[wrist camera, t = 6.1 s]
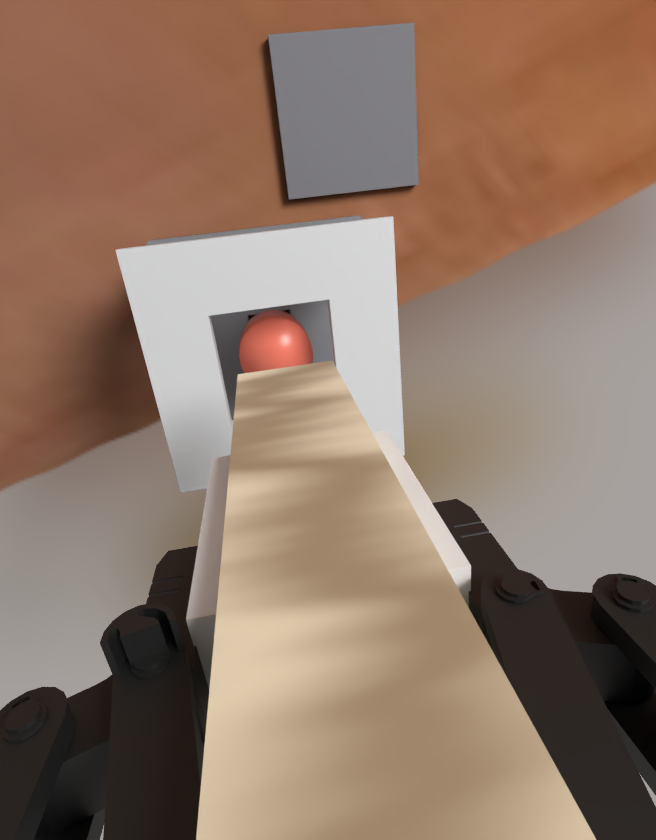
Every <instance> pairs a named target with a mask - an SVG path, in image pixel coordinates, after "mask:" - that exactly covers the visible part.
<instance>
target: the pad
mask: <svg viewBox="0 0 656 840" xmlns="http://www.w3.org/2000/svg"><path fill="white" fill-rule="evenodd" d="M268 43H269V51H270V59H271V67H272V75H273V82H274V90H275V98H276V106H277V114H278V122H279V130H280V137H281V145H282V153H283V161H284V169H285V177H286V185H287V193H288V200H290V199H299V198H307V197H316V196H325V195H334V194H342V193H351V192H360V191H368V190H377V189H386V188H394V187H403V186H412V185H419V181H418V146H417V110H416V75H415V39H414V23H405V24H393V25H381V26H368V27H356V28H344V29H332V30H320V31H308V32H296V33H284V34H272V35H268Z"/></svg>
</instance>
